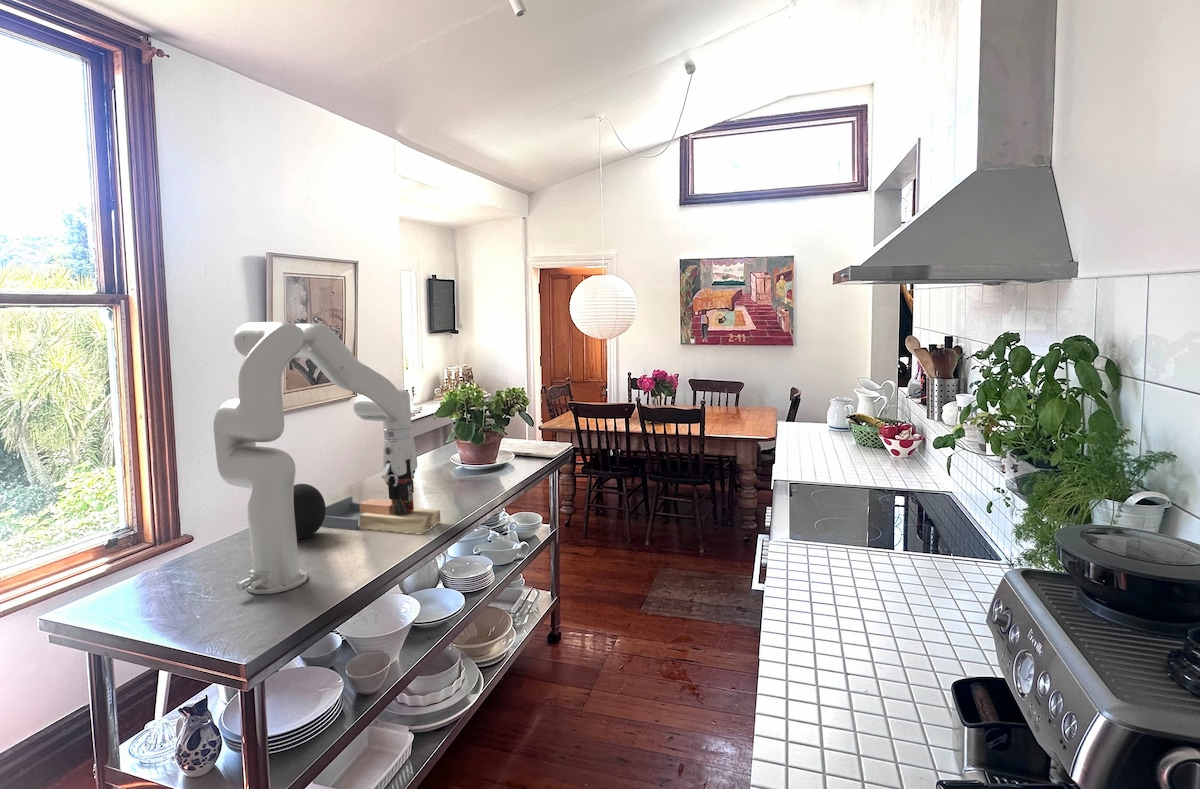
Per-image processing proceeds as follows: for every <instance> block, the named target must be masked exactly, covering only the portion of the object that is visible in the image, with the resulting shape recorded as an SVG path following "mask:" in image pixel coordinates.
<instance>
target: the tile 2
mask: <svg viewBox="0 0 1200 789" xmlns="http://www.w3.org/2000/svg"><path fill="white" fill-rule="evenodd" d="M383 500H384V501H382V502H379V503H377V504H375V505H374V509H375V513H377V514H388V515H390V514H392V513H393V512H392V502H391V499H383Z"/></svg>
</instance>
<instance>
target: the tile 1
mask: <svg viewBox="0 0 1200 789" xmlns="http://www.w3.org/2000/svg"><path fill="white" fill-rule="evenodd" d="M384 500H385V499H378V498H376V499H375V498H369V499H366V500H365V501H362V502H359V503H360V512H366V513H375V509H374V505H375V504H377V503H379V502H382V501H384Z"/></svg>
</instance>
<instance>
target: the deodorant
mask: <svg viewBox="0 0 1200 789" xmlns="http://www.w3.org/2000/svg"><path fill="white" fill-rule="evenodd" d="M405 462H406V465H407V473H406V474H404V475H402V476H399V479H398V486H399V492H400V499H399V500H393V499H390V500H391V502H392V512H393V513H399V514H400V513H408V512H411V511H413V510H414V508H415V507H414V494H413V490H412V480H413V479H412V475H411V467H410V459H408V460H405ZM391 474H394V473H393V472H391ZM394 478H395V477H392V479H393V480H394Z"/></svg>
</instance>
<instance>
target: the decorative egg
mask: <svg viewBox="0 0 1200 789" xmlns="http://www.w3.org/2000/svg"><path fill="white" fill-rule="evenodd" d="M293 499H294V514H295V525H296V537H297V539H306V538H309V537H311V536H312V535H314V534H315V533H317V532H318V530H319V529H320V528H321V527H322V526H321V525H322V523H323V521H324V518H325V513H326V506H327V505H326V502H325V499H324V497H323V494H322V493H321V492H320V491H319V490H318V489H317V488H316V487H315V486H313V485H310V484H308V483H296V484H294V491H293Z"/></svg>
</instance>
